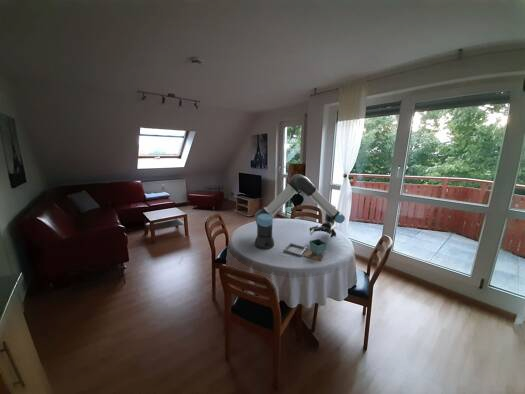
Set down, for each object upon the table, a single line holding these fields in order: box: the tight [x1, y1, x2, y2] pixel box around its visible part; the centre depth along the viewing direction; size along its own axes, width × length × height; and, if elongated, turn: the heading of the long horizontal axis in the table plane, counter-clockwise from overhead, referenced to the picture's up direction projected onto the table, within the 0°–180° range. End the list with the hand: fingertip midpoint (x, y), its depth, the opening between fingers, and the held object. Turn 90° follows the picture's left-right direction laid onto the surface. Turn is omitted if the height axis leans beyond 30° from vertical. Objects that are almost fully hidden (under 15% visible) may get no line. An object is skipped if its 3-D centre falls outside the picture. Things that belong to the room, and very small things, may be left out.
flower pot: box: [308, 238, 328, 256], centre depth 147 cm, size 9×9×9 cm
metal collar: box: [283, 242, 308, 258], centre depth 154 cm, size 13×13×2 cm
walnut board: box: [303, 247, 326, 262], centre depth 149 cm, size 12×12×1 cm
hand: (319, 235), depth 155 cm, fingers open, 13 cm apart
